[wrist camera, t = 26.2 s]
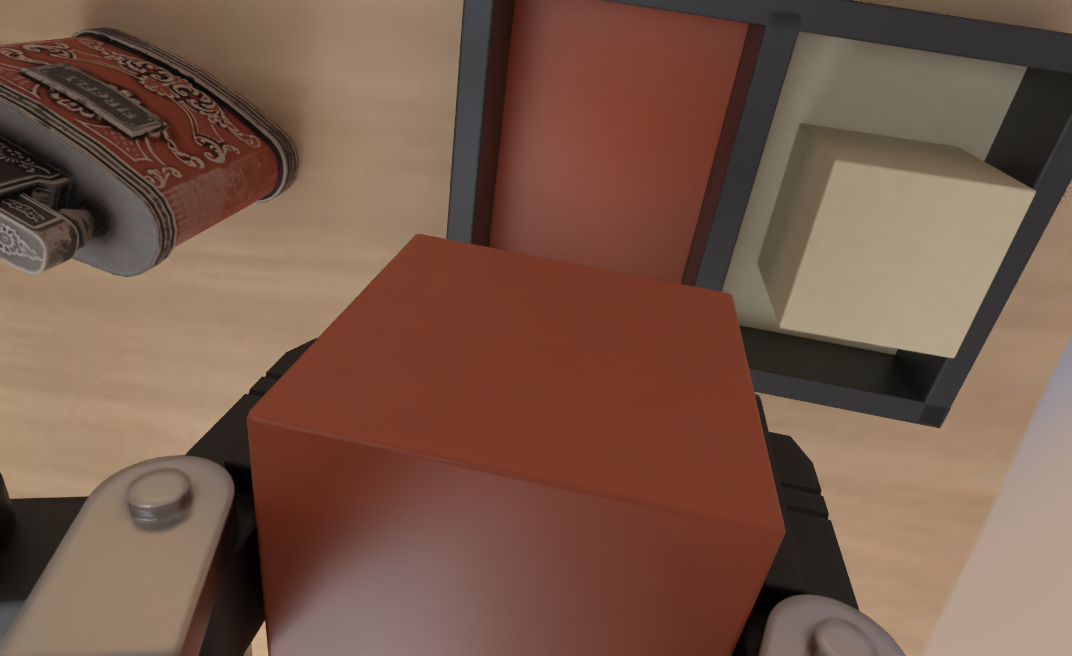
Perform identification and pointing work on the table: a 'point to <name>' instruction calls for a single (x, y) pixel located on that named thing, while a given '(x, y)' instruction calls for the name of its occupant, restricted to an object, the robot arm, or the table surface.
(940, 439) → the table surface
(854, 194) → the cream block
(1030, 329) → the table surface
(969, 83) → the sorting tray
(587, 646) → the terracotta block
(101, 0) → the table surface
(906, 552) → the table surface
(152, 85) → the lighter
